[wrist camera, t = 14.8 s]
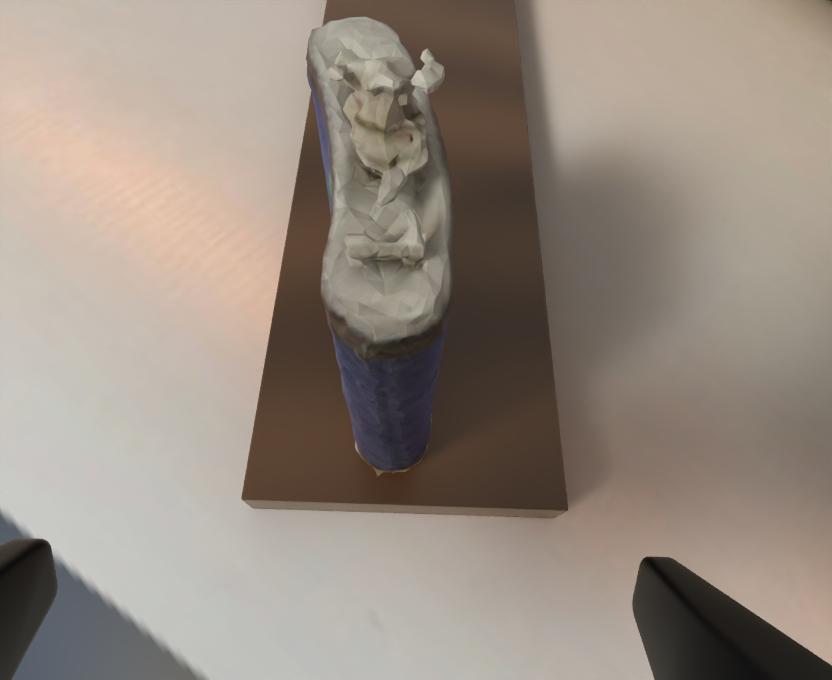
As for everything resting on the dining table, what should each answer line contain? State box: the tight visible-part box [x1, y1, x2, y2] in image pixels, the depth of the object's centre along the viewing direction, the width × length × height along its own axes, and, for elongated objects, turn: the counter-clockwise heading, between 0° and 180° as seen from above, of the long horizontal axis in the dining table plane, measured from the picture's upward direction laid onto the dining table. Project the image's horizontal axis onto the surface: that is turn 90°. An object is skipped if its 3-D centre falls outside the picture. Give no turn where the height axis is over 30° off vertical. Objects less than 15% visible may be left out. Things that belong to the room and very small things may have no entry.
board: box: [242, 0, 568, 518], centre depth 26 cm, size 40×10×2 cm, turn 179°
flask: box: [306, 17, 455, 476], centre depth 14 cm, size 9×3×11 cm, turn 8°
